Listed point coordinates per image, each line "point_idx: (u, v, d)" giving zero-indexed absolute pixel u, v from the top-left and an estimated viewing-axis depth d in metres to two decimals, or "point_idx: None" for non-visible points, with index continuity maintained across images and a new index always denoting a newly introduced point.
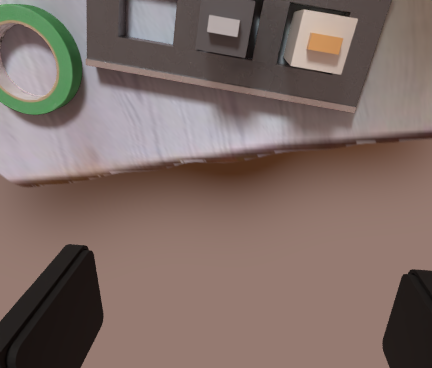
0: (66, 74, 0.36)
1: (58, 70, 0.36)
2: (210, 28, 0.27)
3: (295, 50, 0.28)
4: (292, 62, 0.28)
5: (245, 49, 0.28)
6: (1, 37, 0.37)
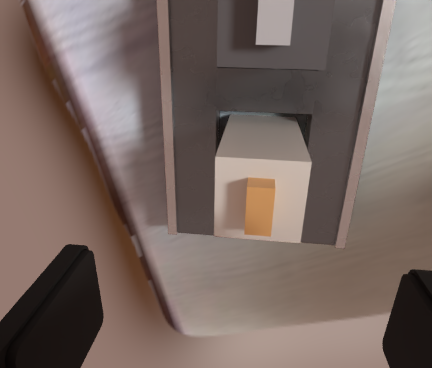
0: None
1: None
2: None
3: (242, 160, 0.15)
4: (221, 158, 0.15)
5: (233, 64, 0.14)
6: None
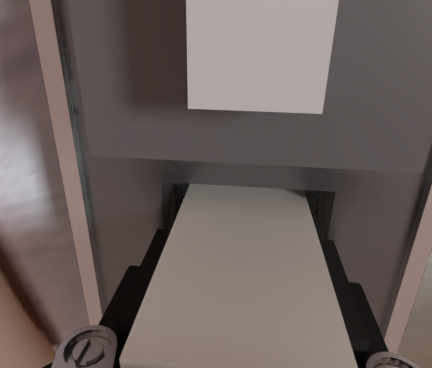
0: None
1: None
2: None
3: None
4: (135, 363, 0.06)
5: (137, 150, 0.04)
6: None
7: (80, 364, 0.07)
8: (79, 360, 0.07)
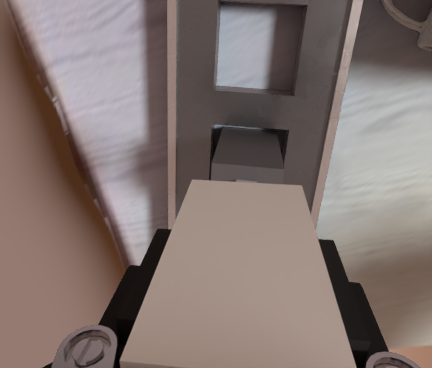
0: None
1: None
2: None
3: None
4: (135, 365, 0.06)
5: None
6: None
7: (80, 364, 0.07)
8: (79, 360, 0.07)
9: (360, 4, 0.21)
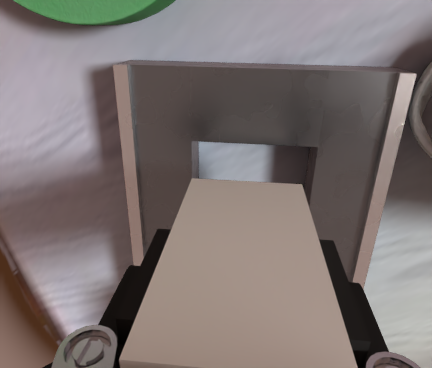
0: (74, 6, 0.14)
1: None
2: None
3: None
4: (134, 364, 0.06)
5: None
6: None
7: (80, 364, 0.07)
8: (79, 360, 0.07)
9: (395, 149, 0.14)
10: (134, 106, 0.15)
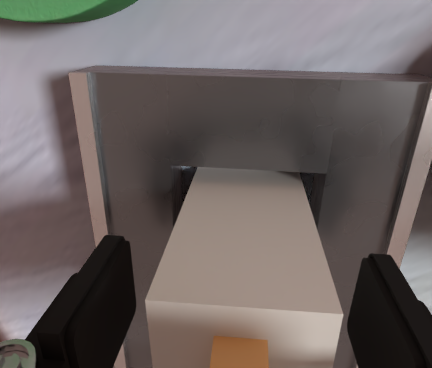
0: None
1: None
2: None
3: (200, 307, 0.07)
4: (157, 304, 0.08)
5: None
6: None
7: None
8: None
9: (422, 177, 0.12)
10: (98, 123, 0.12)
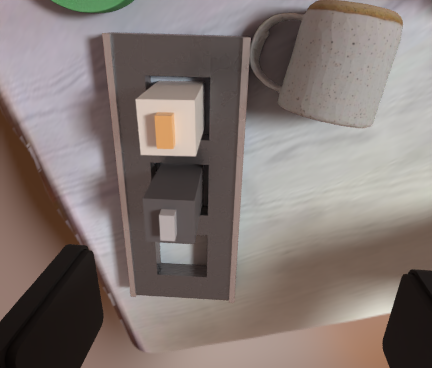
0: (82, 3, 0.27)
1: None
2: (162, 217, 0.27)
3: (152, 100, 0.24)
4: (139, 100, 0.24)
5: (153, 240, 0.30)
6: None
7: None
8: None
9: (246, 77, 0.29)
10: (113, 56, 0.29)
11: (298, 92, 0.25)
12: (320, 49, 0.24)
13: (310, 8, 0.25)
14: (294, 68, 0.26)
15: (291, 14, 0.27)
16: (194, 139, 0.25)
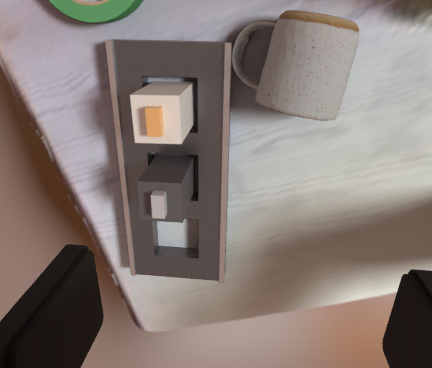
0: (88, 14, 0.32)
1: (90, 4, 0.32)
2: (153, 197, 0.32)
3: (144, 96, 0.29)
4: (133, 96, 0.29)
5: (147, 219, 0.34)
6: None
7: None
8: None
9: (229, 77, 0.33)
10: (115, 59, 0.34)
11: (269, 89, 0.29)
12: (286, 52, 0.28)
13: (279, 17, 0.29)
14: (266, 68, 0.30)
15: (266, 22, 0.31)
16: (179, 129, 0.30)
